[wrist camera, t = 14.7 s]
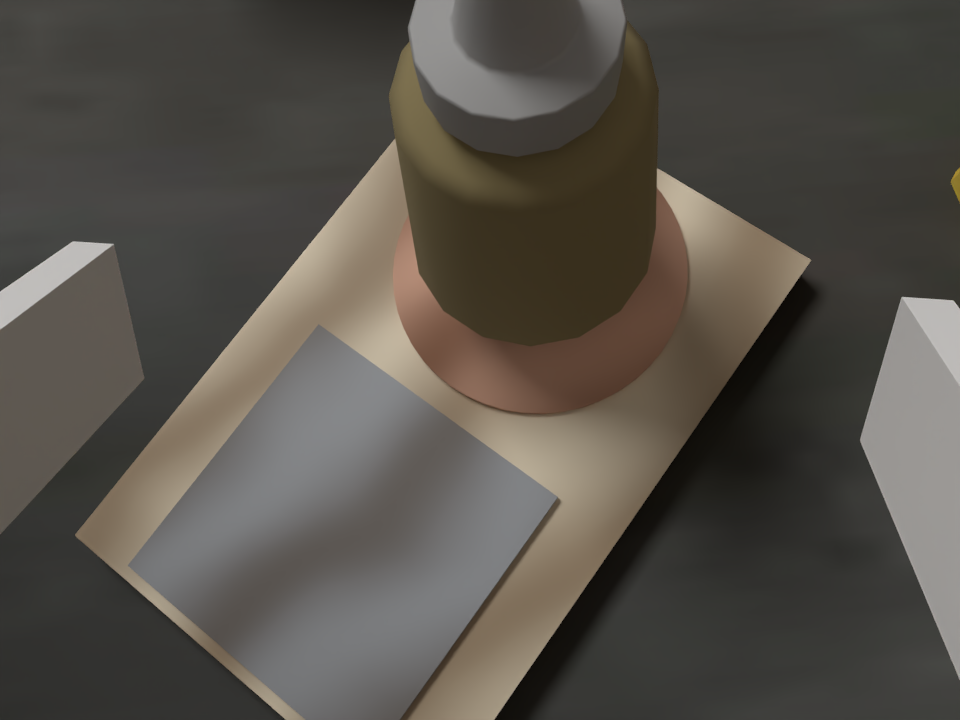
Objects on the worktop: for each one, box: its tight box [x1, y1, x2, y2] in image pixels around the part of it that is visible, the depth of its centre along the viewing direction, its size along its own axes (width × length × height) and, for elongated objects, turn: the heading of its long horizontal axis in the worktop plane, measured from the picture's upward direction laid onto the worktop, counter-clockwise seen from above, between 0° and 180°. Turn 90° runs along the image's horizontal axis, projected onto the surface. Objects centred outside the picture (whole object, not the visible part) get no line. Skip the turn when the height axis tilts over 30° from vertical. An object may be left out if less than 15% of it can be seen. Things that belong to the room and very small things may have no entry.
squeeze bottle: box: [389, 0, 659, 346], centre depth 23 cm, size 8×8×18 cm
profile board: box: [75, 139, 811, 720], centre depth 32 cm, size 16×24×2 cm, turn 143°
